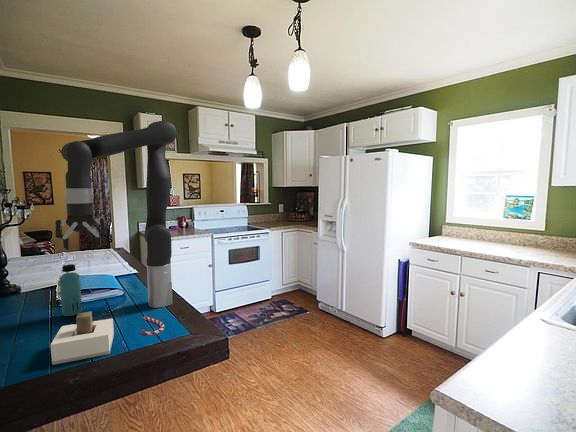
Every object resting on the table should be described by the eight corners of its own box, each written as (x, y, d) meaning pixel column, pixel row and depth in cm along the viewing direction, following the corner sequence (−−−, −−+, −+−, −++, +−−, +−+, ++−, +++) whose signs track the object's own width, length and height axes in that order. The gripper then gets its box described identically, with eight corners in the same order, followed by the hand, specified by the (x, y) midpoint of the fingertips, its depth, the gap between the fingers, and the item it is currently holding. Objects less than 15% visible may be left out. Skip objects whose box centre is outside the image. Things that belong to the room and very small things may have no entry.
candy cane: (153, 313, 118) (168, 327, 107) (153, 317, 118) (168, 331, 107) (131, 319, 113) (144, 335, 102) (132, 323, 113) (145, 338, 102)
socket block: (113, 335, 103) (112, 318, 102) (109, 353, 92) (108, 334, 91) (63, 344, 97) (61, 326, 96) (52, 364, 86) (50, 344, 85)
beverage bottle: (72, 320, 113) (68, 268, 111) (57, 319, 115) (53, 266, 112) (87, 313, 120) (83, 263, 117) (72, 311, 121) (69, 262, 119)
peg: (93, 341, 97) (91, 311, 96) (92, 347, 94) (89, 315, 92) (80, 344, 95) (78, 313, 94) (78, 349, 92) (75, 317, 91)
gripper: (105, 200, 110) (108, 245, 112) (57, 201, 105) (60, 248, 106) (102, 202, 104) (105, 249, 105) (50, 202, 98) (54, 252, 100)
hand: (83, 248), depth 106 cm, fingers open, 8 cm apart
